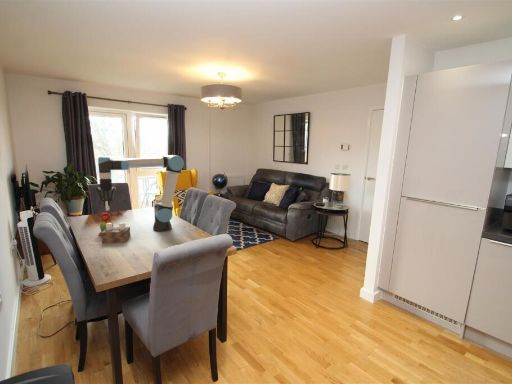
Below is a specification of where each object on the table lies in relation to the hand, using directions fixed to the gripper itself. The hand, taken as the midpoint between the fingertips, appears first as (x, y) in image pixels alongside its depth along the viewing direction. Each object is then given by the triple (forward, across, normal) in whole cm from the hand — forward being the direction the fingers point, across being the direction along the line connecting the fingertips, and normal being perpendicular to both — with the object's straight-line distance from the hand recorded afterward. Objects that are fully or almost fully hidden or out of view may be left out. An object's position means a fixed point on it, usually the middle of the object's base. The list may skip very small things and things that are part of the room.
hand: (107, 210), depth 194 cm
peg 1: (+18, 0, 0) cm, 18 cm away
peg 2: (+18, -9, 0) cm, 20 cm away
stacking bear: (+24, +7, -15) cm, 29 cm away
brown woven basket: (+23, -5, 0) cm, 24 cm away
